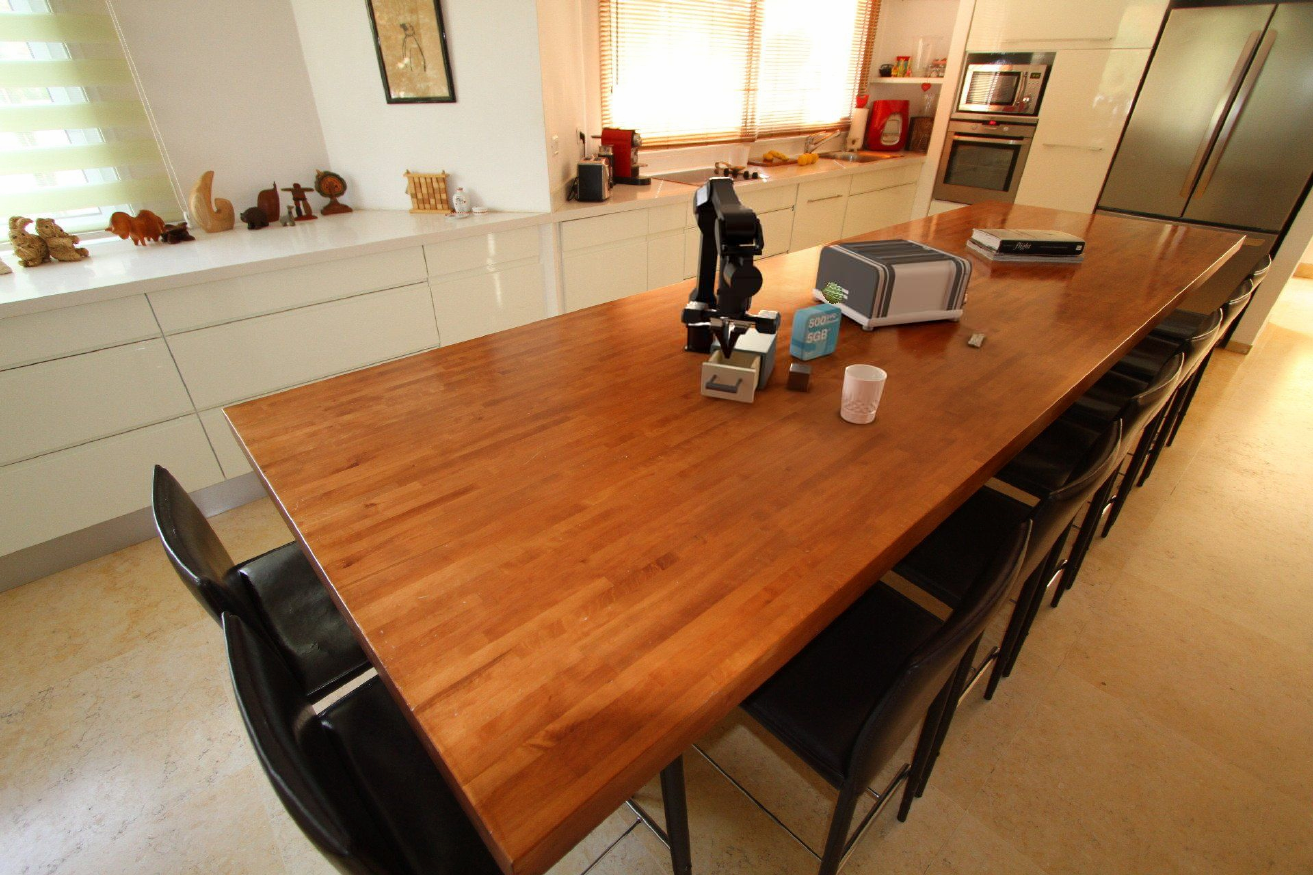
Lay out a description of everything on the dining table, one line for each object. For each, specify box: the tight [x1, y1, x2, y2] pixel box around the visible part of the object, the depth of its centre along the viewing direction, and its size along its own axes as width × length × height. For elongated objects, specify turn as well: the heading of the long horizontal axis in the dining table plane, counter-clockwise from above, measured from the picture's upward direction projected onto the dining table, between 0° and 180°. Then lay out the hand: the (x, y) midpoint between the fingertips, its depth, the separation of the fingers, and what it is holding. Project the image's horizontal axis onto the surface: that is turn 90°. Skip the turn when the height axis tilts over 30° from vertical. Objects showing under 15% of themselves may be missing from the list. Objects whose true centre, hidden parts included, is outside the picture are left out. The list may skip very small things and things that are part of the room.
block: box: [786, 362, 813, 393], centre depth 133 cm, size 4×4×4 cm
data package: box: [789, 302, 843, 362], centre depth 147 cm, size 12×4×12 cm, turn 122°
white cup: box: [839, 364, 888, 425], centre depth 120 cm, size 8×8×10 cm
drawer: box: [700, 349, 763, 404], centre depth 128 cm, size 18×11×7 cm, turn 160°
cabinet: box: [709, 325, 779, 391], centre depth 137 cm, size 14×12×9 cm
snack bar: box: [967, 333, 986, 348], centre depth 157 cm, size 10×2×3 cm
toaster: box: [812, 238, 973, 332], centre depth 176 cm, size 31×36×18 cm
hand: (727, 358), depth 119 cm, fingers closed
